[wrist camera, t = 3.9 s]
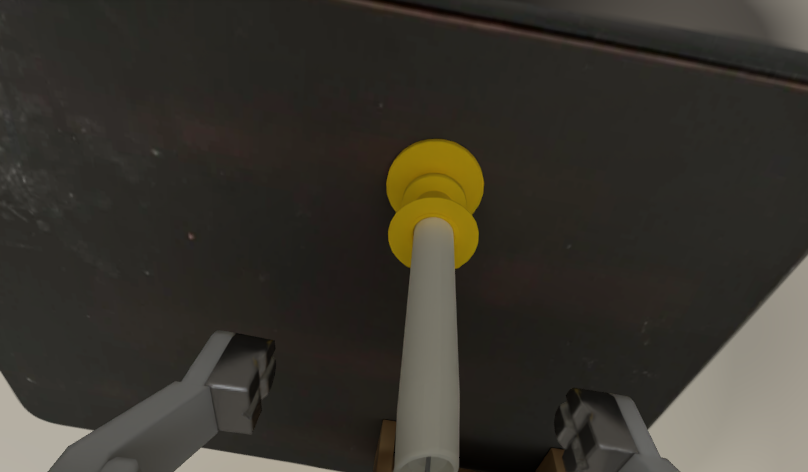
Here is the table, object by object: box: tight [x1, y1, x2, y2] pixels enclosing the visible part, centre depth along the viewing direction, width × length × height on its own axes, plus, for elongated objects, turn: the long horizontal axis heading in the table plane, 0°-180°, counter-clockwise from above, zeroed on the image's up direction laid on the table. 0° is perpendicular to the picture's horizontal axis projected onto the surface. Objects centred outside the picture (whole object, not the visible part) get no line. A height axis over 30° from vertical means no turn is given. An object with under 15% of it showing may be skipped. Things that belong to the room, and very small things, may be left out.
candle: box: [386, 139, 484, 472], centre depth 15 cm, size 5×5×16 cm
